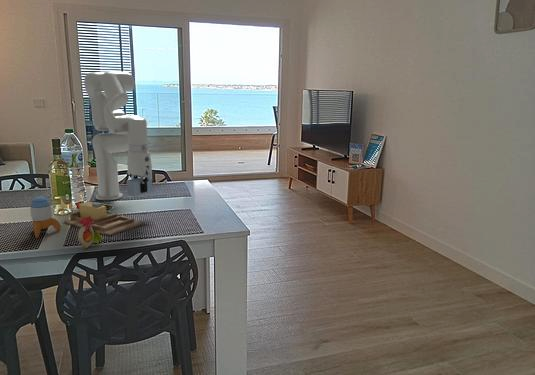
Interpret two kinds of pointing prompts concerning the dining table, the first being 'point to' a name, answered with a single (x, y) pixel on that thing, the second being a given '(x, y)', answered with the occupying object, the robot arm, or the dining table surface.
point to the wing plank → (137, 187)
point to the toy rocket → (42, 215)
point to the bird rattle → (87, 233)
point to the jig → (106, 223)
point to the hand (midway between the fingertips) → (140, 190)
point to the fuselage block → (92, 210)
